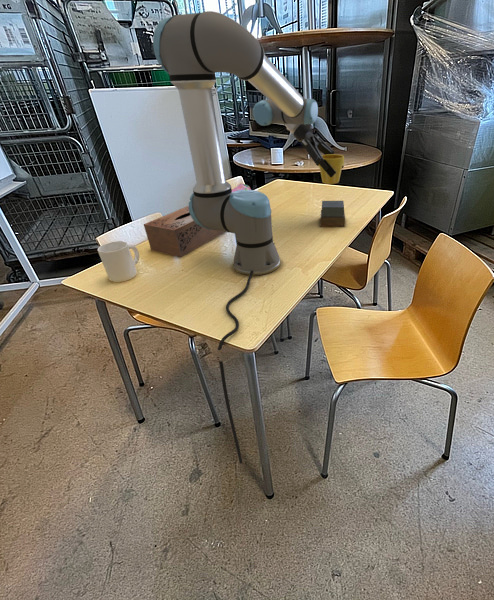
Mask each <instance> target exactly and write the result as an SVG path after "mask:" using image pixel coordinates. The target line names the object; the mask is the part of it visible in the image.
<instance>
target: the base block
mask: <svg viewBox="0 0 494 600" xmlns="http://www.w3.org/2000/svg"><path fill="white" fill-rule="evenodd" d="M319 217H320V218H319V219H320V220H319V221H320V226H319V227H320V228H324V227H326V228H329V227H331V228H344V227H345V226H346V213H345V212H344V217H322V209H320V216H319Z"/></svg>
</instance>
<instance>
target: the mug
mask: <svg viewBox="0 0 494 600" xmlns="http://www.w3.org/2000/svg"><path fill="white" fill-rule="evenodd" d="M131 250H132V252H133V253H134V259H133V255H132V253H131ZM97 252H98V255H99V257H100V258H99V259H100V260H101V263H102V265H103V268H104V270H105V273H106V276H107V278H108V279H109V280H110V281H111V282H113V283H123V282H127V281H129V280H132V279H134V278H135V277H136V276H137V273H138V271H137V268H136V265H137V264H138V262H139V260H140V251H139V249H138V248H137V247H136V245H134V244H131V243H128V242H127V241H123V240H117V241H116V240H115V241H110V242H106V243H103V244H101V245H99V247H97Z"/></svg>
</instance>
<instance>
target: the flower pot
mask: <svg viewBox="0 0 494 600" xmlns="http://www.w3.org/2000/svg"><path fill="white" fill-rule="evenodd" d="M321 155H322V157H323V159H325V160H326V161H327V162H328V163H329V164H330V165H331V167H332V168H333V169H334V170H335V171H336V174H335V175H334V176H333V177H332V178H331V177H330V176H329V175H328V174H327V173H326V171H325V170H324V169H323V168H322V167H321V166H320V164H319V165H318V166H317V167H319V172H320V177H321V182H322V184H325V185H335V184H338V183H340V178H341V174H342V169H343V168H342V166H344V165H345V156H344V155H343V154H338V153H334V154H326V155H324V154H321Z"/></svg>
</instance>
